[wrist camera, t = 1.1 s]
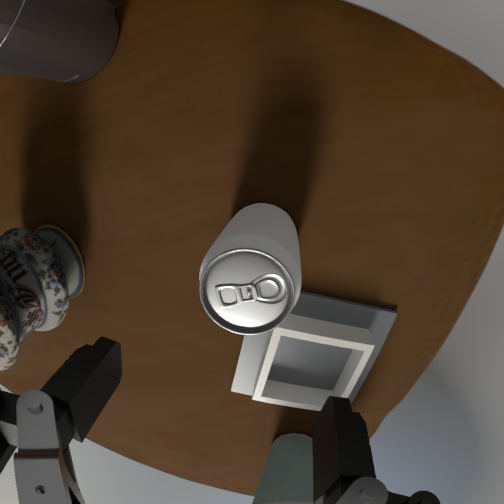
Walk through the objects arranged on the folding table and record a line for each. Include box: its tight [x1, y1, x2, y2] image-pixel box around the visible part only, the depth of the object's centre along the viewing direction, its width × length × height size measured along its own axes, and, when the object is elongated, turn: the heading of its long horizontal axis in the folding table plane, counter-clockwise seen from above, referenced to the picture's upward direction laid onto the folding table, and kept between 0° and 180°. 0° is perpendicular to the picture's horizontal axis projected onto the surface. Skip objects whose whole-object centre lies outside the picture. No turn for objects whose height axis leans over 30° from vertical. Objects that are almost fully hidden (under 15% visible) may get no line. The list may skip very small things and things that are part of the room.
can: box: [199, 203, 301, 335], centre depth 24 cm, size 6×6×12 cm
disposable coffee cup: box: [252, 433, 313, 504], centre depth 32 cm, size 11×11×15 cm
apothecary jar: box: [0, 225, 85, 370], centre depth 25 cm, size 12×12×18 cm
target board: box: [231, 291, 397, 411], centre depth 31 cm, size 15×15×4 cm
